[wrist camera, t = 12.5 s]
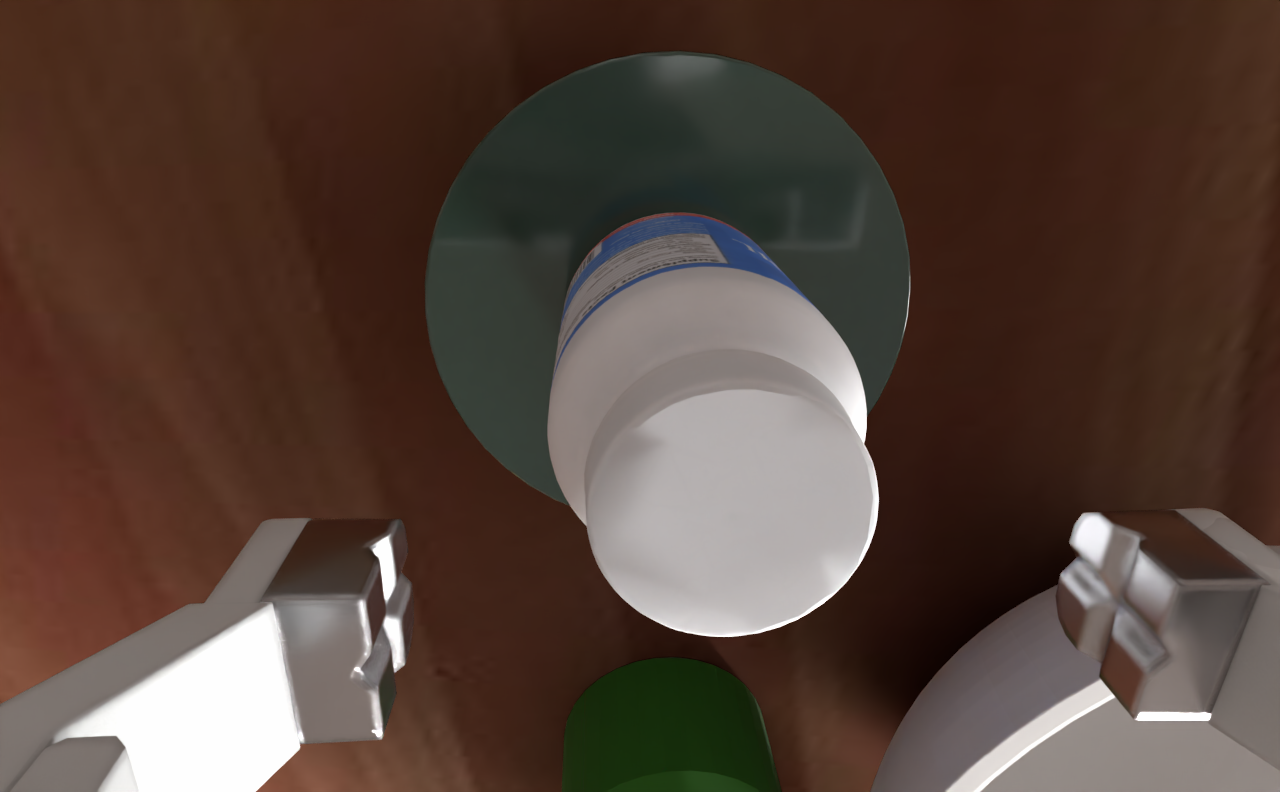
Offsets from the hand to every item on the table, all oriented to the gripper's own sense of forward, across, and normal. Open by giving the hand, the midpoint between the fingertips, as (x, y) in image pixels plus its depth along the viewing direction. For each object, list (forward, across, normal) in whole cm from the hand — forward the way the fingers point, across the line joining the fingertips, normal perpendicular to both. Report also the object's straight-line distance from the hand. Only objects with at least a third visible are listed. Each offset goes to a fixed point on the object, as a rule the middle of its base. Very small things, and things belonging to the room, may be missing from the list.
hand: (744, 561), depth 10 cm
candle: (+17, -1, +20) cm, 27 cm away
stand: (+17, 0, 0) cm, 17 cm away
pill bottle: (+11, 0, 0) cm, 11 cm away
